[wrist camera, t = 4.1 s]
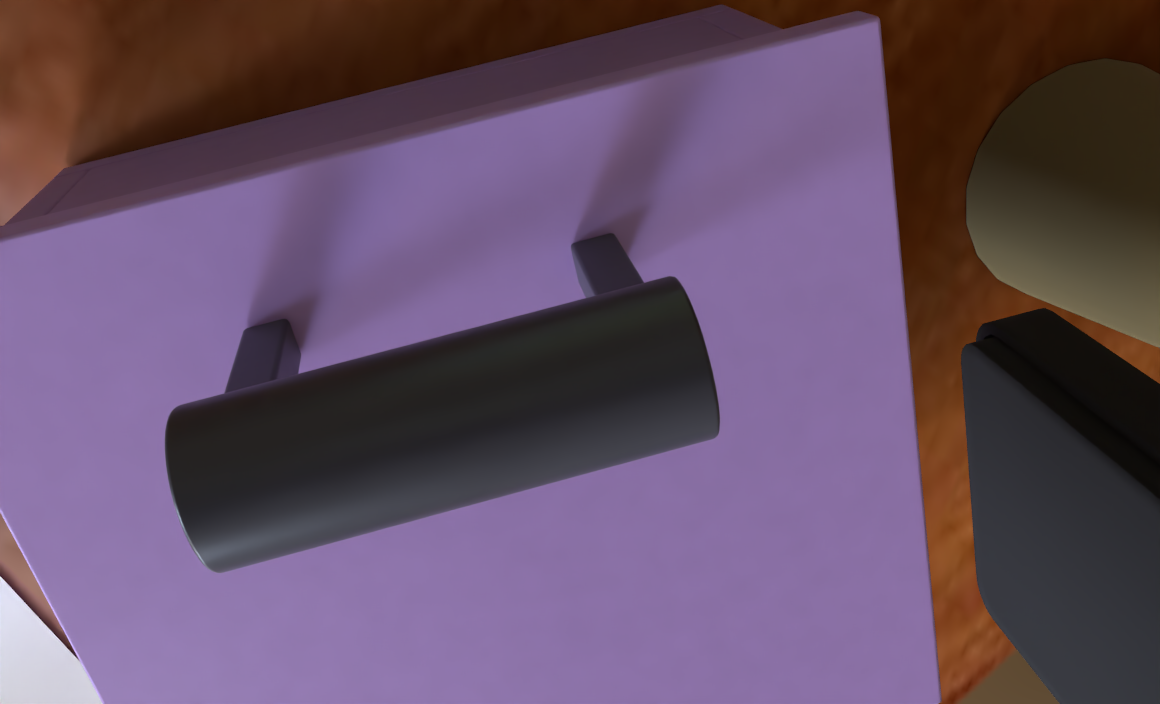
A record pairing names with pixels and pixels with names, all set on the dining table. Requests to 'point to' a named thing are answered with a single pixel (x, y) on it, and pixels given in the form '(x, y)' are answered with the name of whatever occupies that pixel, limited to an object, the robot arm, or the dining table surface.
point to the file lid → (492, 404)
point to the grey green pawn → (1076, 195)
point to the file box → (391, 108)
